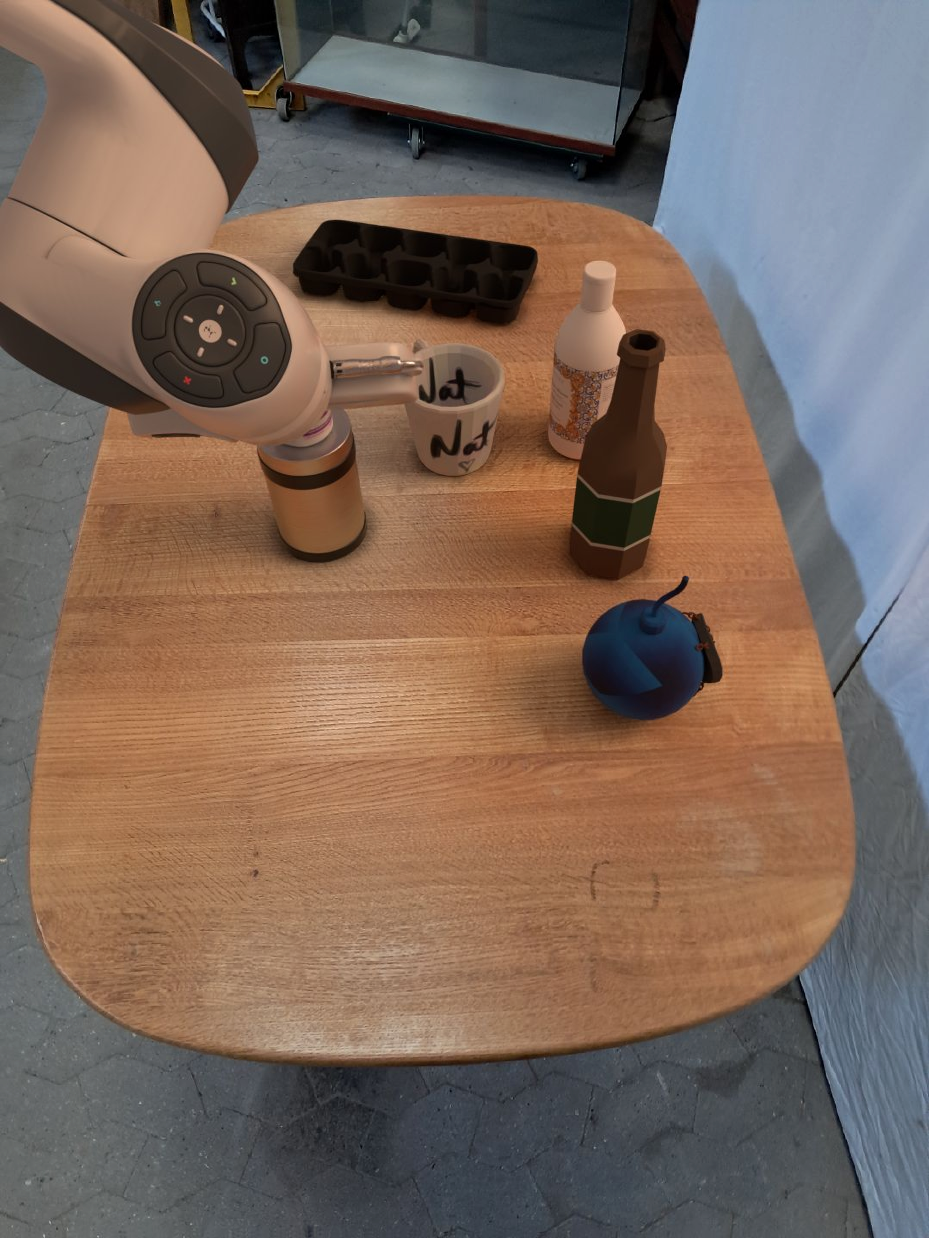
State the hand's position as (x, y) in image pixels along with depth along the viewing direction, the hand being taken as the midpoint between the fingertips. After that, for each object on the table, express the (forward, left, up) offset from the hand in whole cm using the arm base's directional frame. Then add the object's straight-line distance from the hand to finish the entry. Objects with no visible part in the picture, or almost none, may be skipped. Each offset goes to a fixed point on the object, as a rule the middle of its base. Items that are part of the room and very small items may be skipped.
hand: (287, 396), depth 71 cm
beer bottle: (+25, -10, -20) cm, 34 cm away
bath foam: (+30, +5, -20) cm, 37 cm away
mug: (+17, +11, -20) cm, 29 cm away
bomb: (+20, -25, -20) cm, 38 cm away
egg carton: (+25, +38, -20) cm, 50 cm away
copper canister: (+1, +4, -20) cm, 20 cm away
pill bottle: (+1, +4, -7) cm, 8 cm away
